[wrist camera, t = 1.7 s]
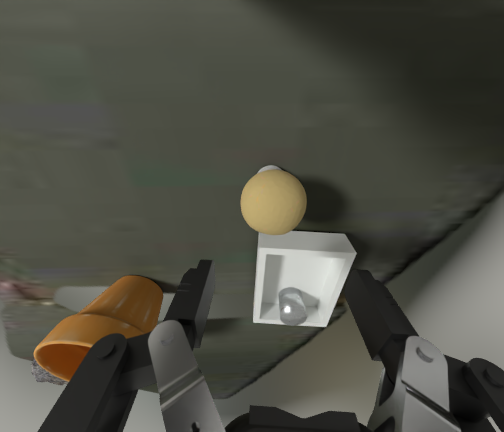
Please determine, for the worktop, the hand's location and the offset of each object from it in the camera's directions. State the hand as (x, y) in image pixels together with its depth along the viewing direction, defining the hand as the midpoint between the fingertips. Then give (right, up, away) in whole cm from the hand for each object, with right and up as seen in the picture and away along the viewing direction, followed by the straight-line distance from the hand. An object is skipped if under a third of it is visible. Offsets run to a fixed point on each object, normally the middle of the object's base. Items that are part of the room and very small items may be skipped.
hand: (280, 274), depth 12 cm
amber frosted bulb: (+1, +8, +14) cm, 16 cm away
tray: (+5, -5, +21) cm, 23 cm away
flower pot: (-23, -11, +27) cm, 37 cm away
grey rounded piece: (+5, -10, +22) cm, 24 cm away
